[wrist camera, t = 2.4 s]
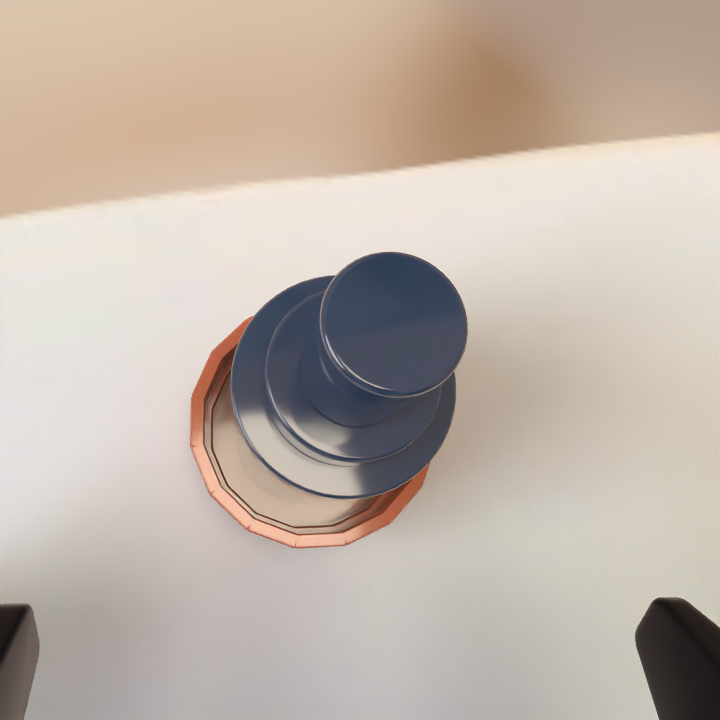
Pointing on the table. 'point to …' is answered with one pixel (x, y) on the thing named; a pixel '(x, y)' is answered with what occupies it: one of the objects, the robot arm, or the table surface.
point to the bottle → (348, 380)
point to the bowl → (253, 504)
